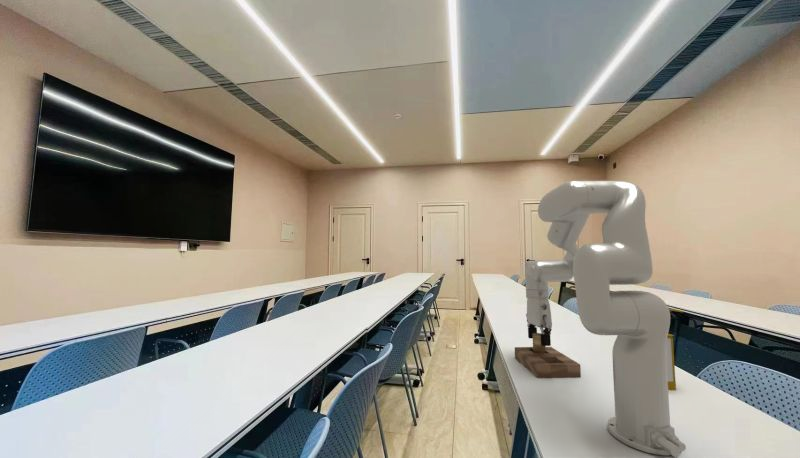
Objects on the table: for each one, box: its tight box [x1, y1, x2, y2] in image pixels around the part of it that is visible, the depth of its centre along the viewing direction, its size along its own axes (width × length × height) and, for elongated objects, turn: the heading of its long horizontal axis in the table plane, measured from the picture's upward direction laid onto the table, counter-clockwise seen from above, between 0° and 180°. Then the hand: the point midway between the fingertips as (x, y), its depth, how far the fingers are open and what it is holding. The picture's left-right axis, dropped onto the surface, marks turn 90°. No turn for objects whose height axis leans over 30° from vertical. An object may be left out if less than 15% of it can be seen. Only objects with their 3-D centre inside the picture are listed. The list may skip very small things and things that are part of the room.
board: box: [514, 346, 582, 379], centre depth 107 cm, size 18×14×4 cm
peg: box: [532, 332, 547, 354], centre depth 111 cm, size 4×4×10 cm
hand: (539, 341), depth 111 cm, fingers open, 9 cm apart
